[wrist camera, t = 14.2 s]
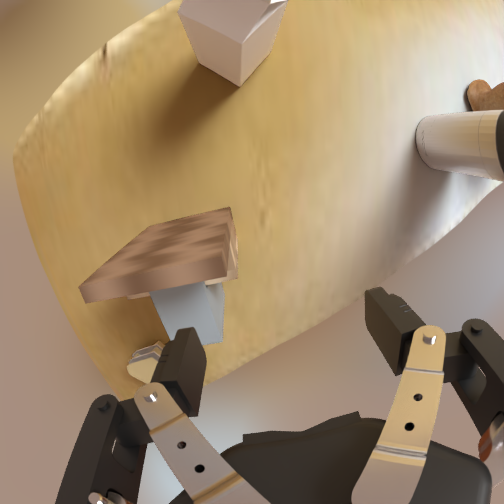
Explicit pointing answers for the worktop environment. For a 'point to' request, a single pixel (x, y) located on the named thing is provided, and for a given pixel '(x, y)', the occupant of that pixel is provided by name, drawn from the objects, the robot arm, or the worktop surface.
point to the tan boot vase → (485, 96)
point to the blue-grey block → (192, 310)
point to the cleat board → (169, 258)
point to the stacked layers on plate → (145, 362)
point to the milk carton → (232, 33)
